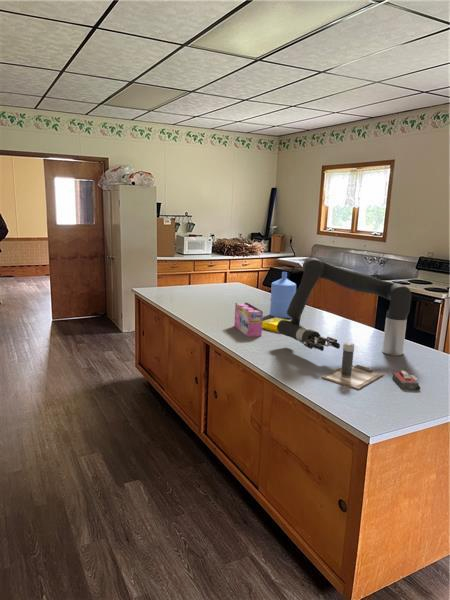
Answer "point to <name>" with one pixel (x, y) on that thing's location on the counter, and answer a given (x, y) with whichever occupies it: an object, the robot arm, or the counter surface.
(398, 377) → the walkie-talkie
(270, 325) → the element tile
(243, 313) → the pink multipack package
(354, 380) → the clipboard
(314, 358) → the counter surface
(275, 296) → the water jug
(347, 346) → the bottle
